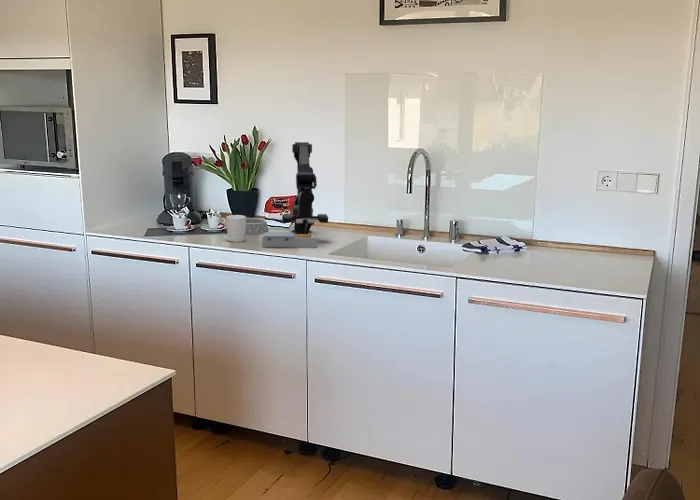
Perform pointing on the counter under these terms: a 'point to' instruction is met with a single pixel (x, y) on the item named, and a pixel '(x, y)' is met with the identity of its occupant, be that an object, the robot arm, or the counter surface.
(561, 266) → the counter surface
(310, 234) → the mustard yellow box
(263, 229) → the dog bowl
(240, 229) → the white cup
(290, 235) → the panel
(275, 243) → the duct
